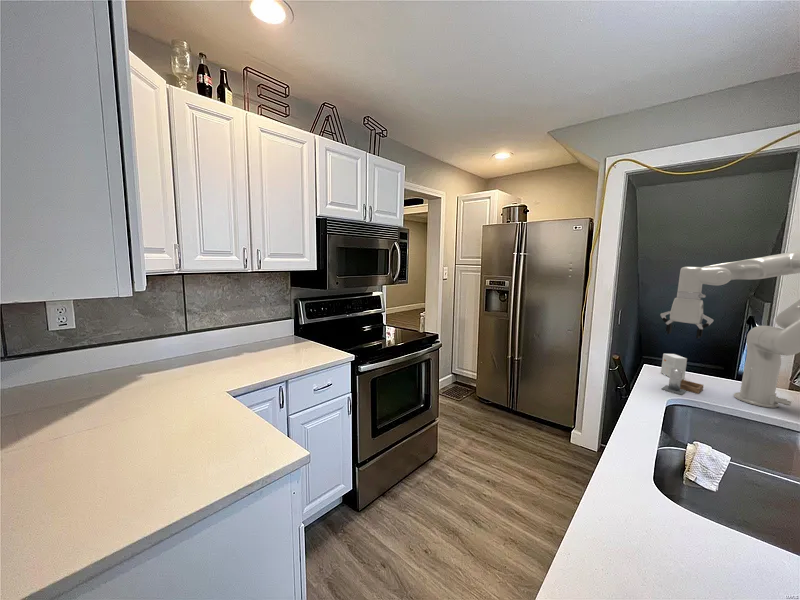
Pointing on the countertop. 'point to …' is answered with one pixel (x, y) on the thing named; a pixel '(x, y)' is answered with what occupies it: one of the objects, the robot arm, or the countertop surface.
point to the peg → (675, 379)
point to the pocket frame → (691, 386)
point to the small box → (673, 364)
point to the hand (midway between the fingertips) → (683, 335)
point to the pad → (673, 391)
